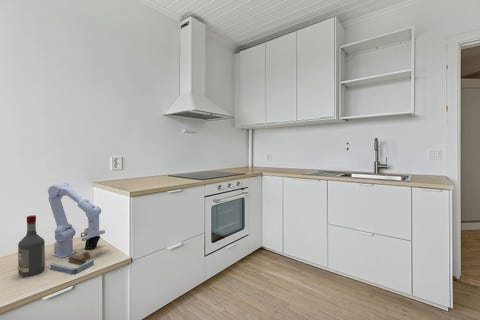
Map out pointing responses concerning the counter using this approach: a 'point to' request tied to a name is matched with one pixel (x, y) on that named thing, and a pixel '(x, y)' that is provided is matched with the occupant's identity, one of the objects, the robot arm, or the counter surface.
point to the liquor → (31, 251)
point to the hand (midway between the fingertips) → (93, 248)
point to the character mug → (87, 244)
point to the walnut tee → (79, 258)
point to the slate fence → (70, 269)
